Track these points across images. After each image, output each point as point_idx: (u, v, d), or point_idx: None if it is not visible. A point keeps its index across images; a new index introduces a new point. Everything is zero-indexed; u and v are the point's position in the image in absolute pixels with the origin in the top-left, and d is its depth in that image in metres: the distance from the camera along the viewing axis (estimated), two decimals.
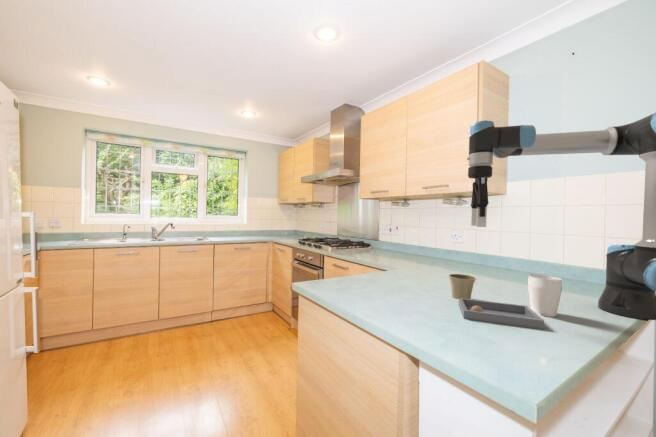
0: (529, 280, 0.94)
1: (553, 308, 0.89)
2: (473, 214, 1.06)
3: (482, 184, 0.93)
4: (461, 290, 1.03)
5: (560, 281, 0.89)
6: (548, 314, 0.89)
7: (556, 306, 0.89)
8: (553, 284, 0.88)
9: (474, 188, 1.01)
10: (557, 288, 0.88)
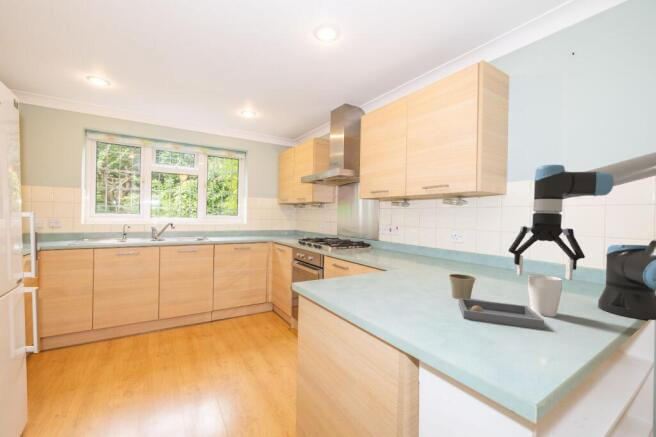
0: (529, 280, 0.94)
1: (553, 308, 0.89)
2: (566, 265, 0.91)
3: (520, 233, 0.95)
4: (461, 290, 1.03)
5: (560, 281, 0.89)
6: (548, 314, 0.89)
7: (556, 306, 0.89)
8: (553, 284, 0.88)
9: None
10: (557, 288, 0.88)
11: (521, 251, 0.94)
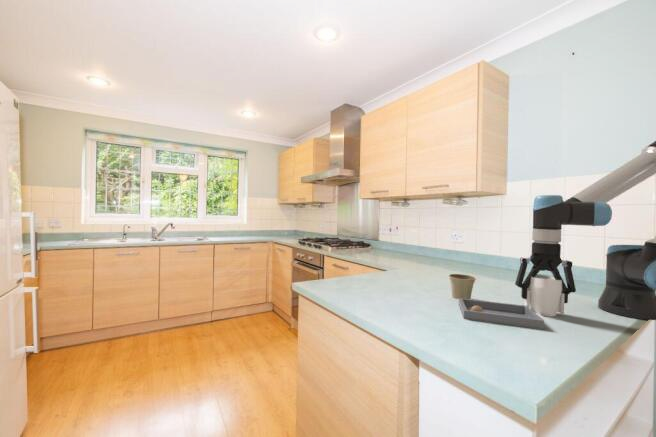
0: None
1: (553, 308, 0.89)
2: None
3: (521, 265, 0.95)
4: (461, 290, 1.03)
5: (560, 281, 0.89)
6: (548, 314, 0.89)
7: (556, 306, 0.89)
8: (553, 284, 0.88)
9: None
10: (557, 288, 0.88)
11: (527, 285, 0.93)
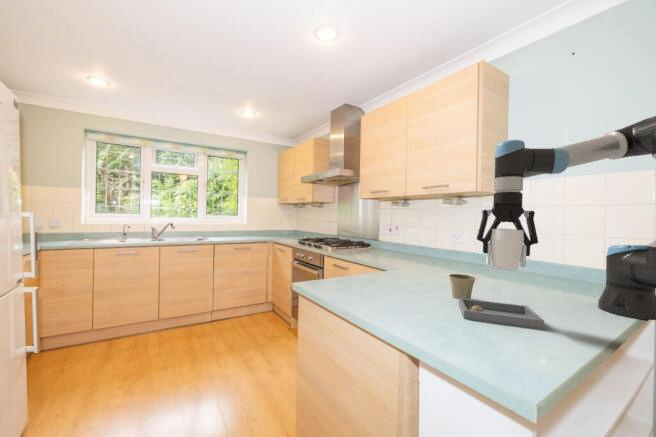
0: None
1: (513, 260, 0.83)
2: (521, 252, 0.86)
3: (482, 217, 0.89)
4: (461, 290, 1.03)
5: (521, 231, 0.83)
6: (508, 267, 0.84)
7: (517, 258, 0.83)
8: (513, 234, 0.82)
9: None
10: (518, 238, 0.82)
11: (488, 238, 0.87)
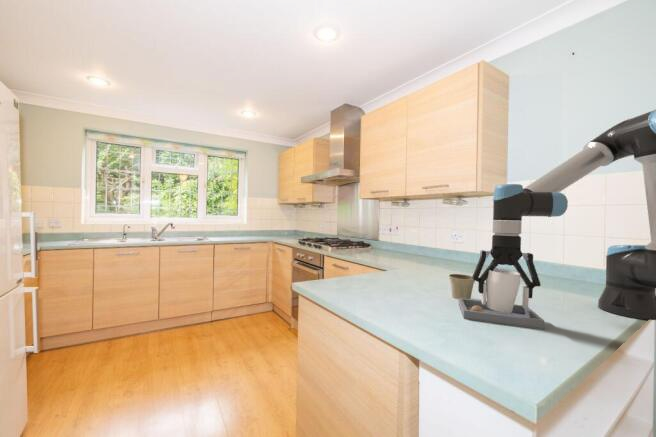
0: None
1: (508, 304, 0.84)
2: (523, 293, 0.86)
3: (480, 257, 0.89)
4: (461, 290, 1.03)
5: (518, 276, 0.83)
6: (503, 310, 0.84)
7: (512, 302, 0.84)
8: (510, 278, 0.83)
9: None
10: (514, 283, 0.83)
11: (484, 278, 0.88)
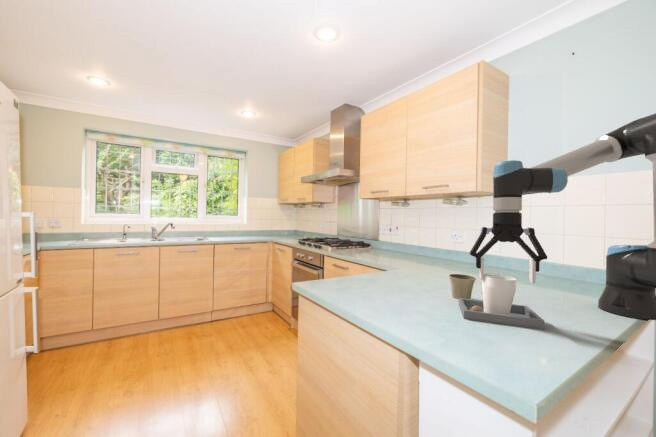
0: None
1: (504, 309, 0.84)
2: (530, 267, 0.85)
3: (481, 234, 0.89)
4: (461, 290, 1.03)
5: (513, 281, 0.84)
6: None
7: (508, 308, 0.84)
8: (506, 284, 0.83)
9: None
10: (510, 288, 0.83)
11: (482, 254, 0.88)
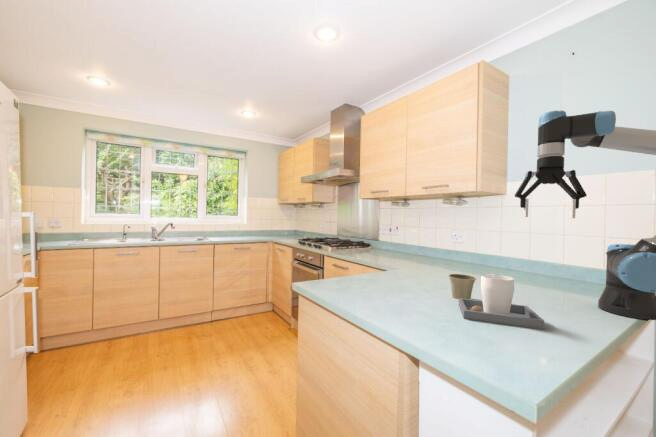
0: (481, 280, 0.89)
1: (504, 310, 0.84)
2: (569, 205, 0.97)
3: (526, 178, 1.01)
4: (461, 290, 1.03)
5: (511, 281, 0.84)
6: None
7: (507, 308, 0.84)
8: (504, 284, 0.83)
9: None
10: (508, 288, 0.83)
11: (527, 194, 1.00)
